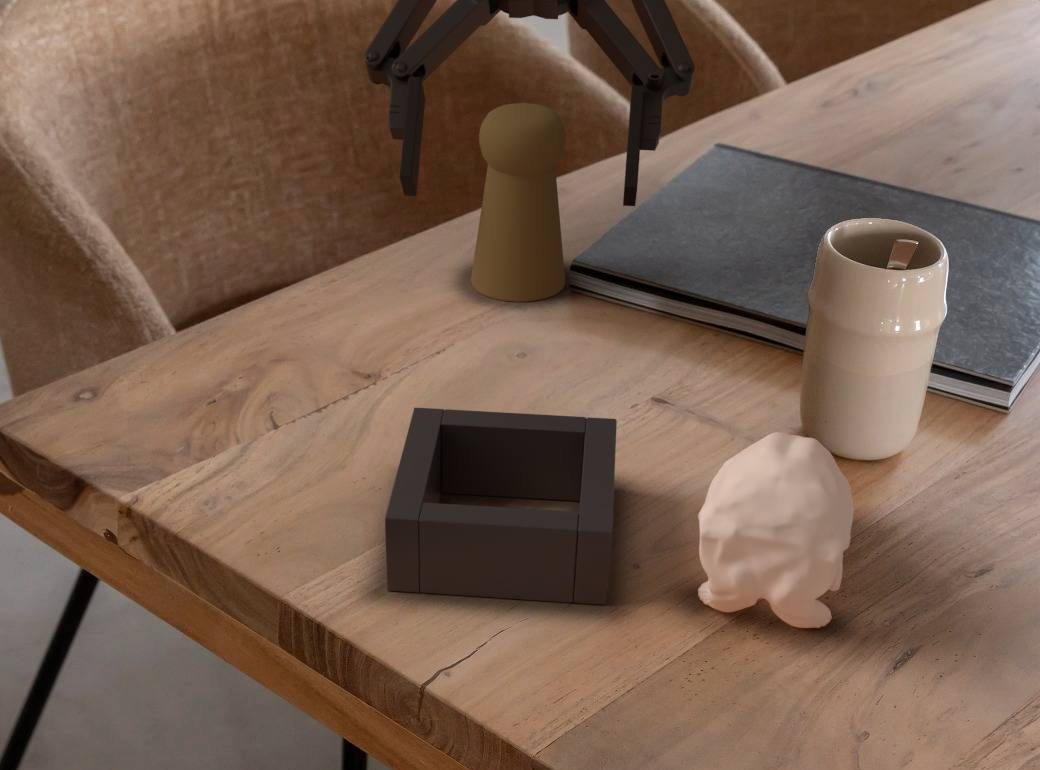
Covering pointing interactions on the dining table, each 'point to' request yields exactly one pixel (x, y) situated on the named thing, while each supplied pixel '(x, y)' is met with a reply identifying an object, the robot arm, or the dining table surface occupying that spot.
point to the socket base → (498, 530)
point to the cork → (520, 205)
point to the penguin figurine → (776, 530)
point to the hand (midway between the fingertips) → (518, 192)
